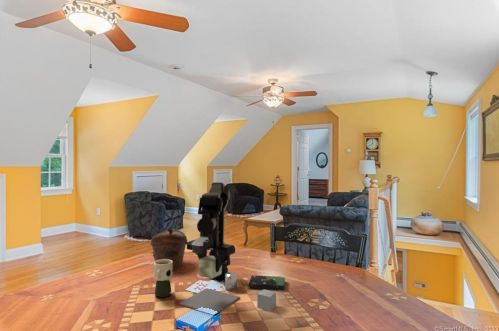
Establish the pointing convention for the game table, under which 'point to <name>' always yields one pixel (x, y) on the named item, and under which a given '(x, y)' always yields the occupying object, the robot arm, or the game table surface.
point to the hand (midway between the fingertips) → (210, 270)
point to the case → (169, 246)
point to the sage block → (208, 267)
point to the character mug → (163, 277)
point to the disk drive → (267, 283)
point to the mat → (210, 300)
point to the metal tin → (231, 281)
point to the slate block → (266, 300)
